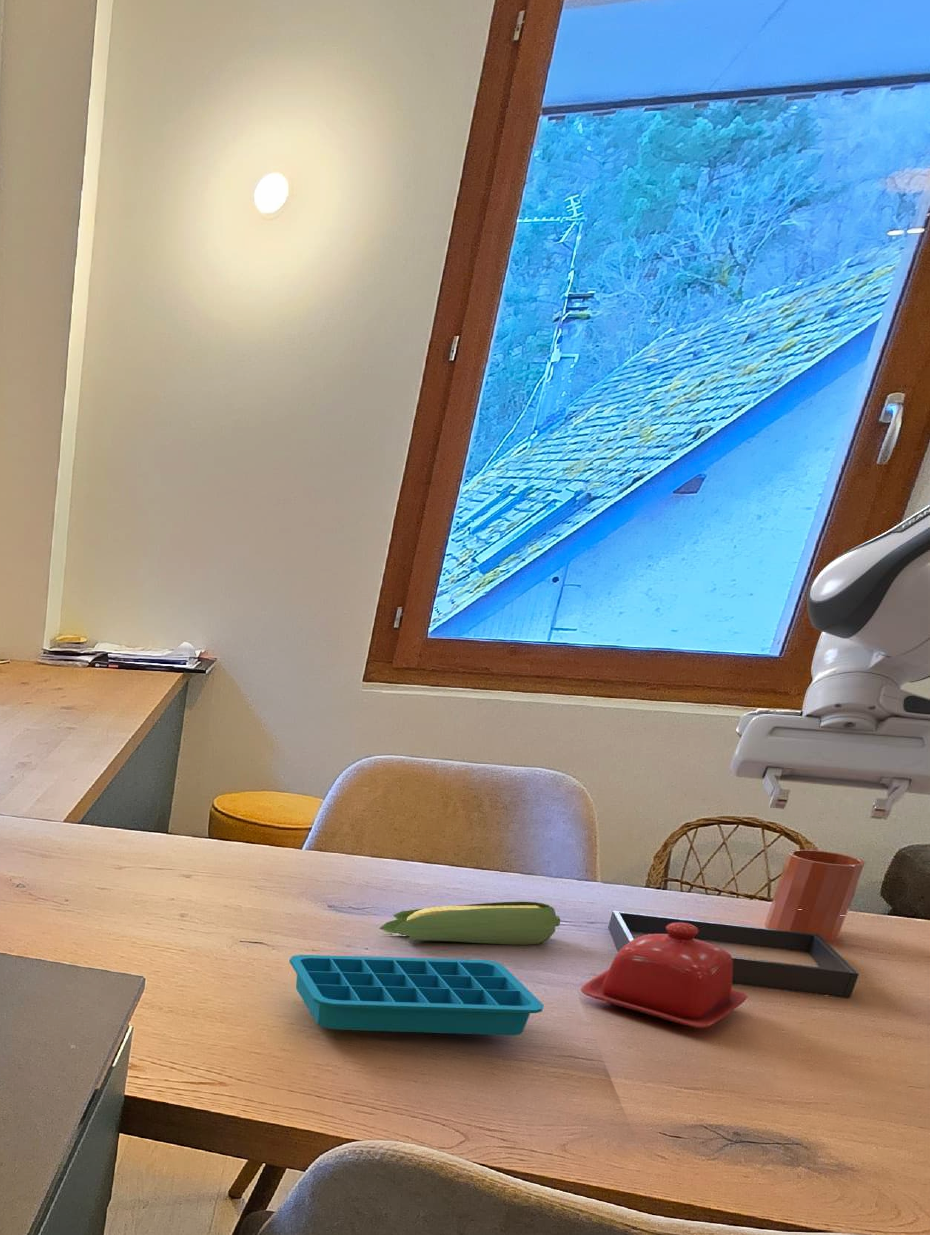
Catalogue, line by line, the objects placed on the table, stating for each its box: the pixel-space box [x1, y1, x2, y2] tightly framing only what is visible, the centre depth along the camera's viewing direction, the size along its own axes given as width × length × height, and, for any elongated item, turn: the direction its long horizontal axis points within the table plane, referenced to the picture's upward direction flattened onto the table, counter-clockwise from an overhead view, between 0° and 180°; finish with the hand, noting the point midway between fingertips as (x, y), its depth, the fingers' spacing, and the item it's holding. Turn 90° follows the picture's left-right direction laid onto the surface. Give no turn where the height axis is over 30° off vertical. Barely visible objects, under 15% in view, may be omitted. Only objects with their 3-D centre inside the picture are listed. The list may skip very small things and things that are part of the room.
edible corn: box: [378, 901, 561, 946], centre depth 133 cm, size 5×20×5 cm, turn 88°
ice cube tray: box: [289, 954, 544, 1036], centre depth 113 cm, size 12×20×3 cm, turn 83°
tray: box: [607, 910, 860, 999], centre depth 126 cm, size 19×13×3 cm
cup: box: [764, 849, 866, 943], centre depth 132 cm, size 7×7×10 cm
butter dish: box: [580, 922, 748, 1029], centre depth 114 cm, size 12×12×8 cm
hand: (827, 810), depth 138 cm, fingers open, 8 cm apart
